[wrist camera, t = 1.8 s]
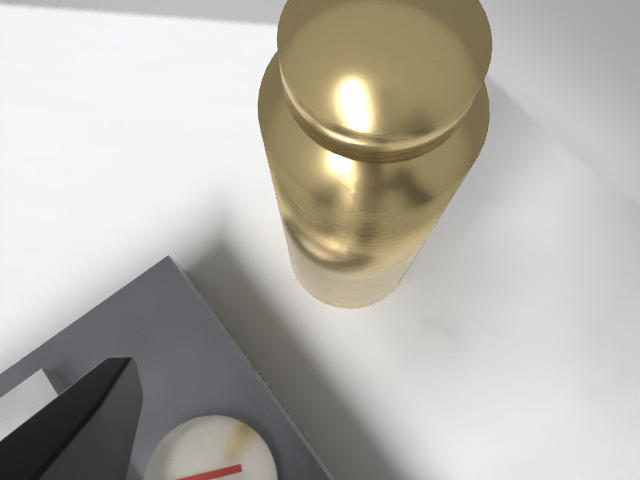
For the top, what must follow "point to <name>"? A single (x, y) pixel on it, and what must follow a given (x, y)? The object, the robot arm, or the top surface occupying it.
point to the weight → (371, 133)
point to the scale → (171, 386)
